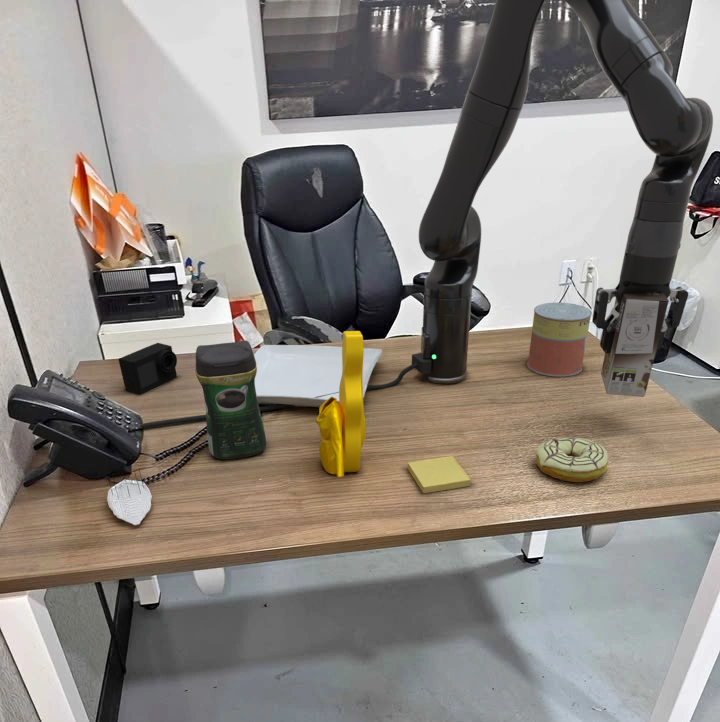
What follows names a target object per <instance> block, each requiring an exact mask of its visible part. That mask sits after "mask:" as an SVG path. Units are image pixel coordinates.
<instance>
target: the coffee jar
mask: <svg viewBox="0 0 720 722" xmlns="http://www.w3.org/2000/svg"><path fill="white" fill-rule="evenodd" d="M254 354H255V353H254V350H253V348H252V346H251V343H250V342H249V341H248V340H241V341H233V342H222V343H221V342H220V343H215V344H203V345H201V344H200V345H198V346H197V347H196V349H195V376H196V378H197V381H198V383H199V385H201V388H202V392H203V399H204V406H205V415H206V420H205V421H206V434H207V435H206V436H207V444H208V451H209V453H210V455H211V456H212V457H214V458H216V459H219V460H232V459H239V458H246V457H251V456H256V455H259V454H262V452H263V451H264V450H265V449H266V447H267V439H266V438H267V436H266V431H265V426H264V423H263V422H264V421H263V419H262V414H261V412H260V410H259V407H260V406H259V405H260V404H258V401H257V395H256V389H255V376H256V373H257V364H256V361H255V357H254Z"/></svg>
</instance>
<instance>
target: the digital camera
mask: <svg viewBox="0 0 720 722" xmlns="http://www.w3.org/2000/svg"><path fill="white" fill-rule="evenodd" d="M177 363H178V357H177V354H176V353H175V352H174V351H173V347H172V345H169V344H165V343H161V342H155V343H153V344H150V345H147V346H146V347H143V348H141V349H138V350H136V351H134V352H131V353H128V354H126V355H124V356H122V357H119V358H118V364H119V368H120V373H121V376H122V381H123V385H124V389H125V391H127V392H130V393H133V394H137V395H142V394H144V393H146V392H149V391H150V390H153V389H155V388H157V387H159V386H161V385H163V384H165V383H168V382H169V381H171V380H173V379H176V378H177V377H178V374H177V369H176V367H177Z"/></svg>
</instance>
